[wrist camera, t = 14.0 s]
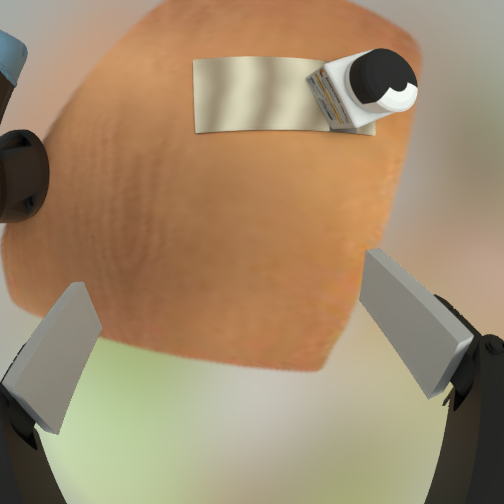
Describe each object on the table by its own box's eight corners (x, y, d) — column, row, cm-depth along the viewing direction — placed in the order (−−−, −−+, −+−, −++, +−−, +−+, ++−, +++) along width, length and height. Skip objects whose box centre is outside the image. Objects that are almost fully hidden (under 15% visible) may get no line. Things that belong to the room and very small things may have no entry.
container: (303, 78, 29) (344, 49, 17) (351, 61, 28) (404, 36, 16) (330, 130, 32) (383, 128, 20) (375, 110, 31) (436, 106, 19)
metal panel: (196, 133, 32) (195, 133, 30) (194, 62, 28) (193, 59, 27) (371, 135, 33) (375, 135, 32) (368, 70, 29) (372, 69, 28)
